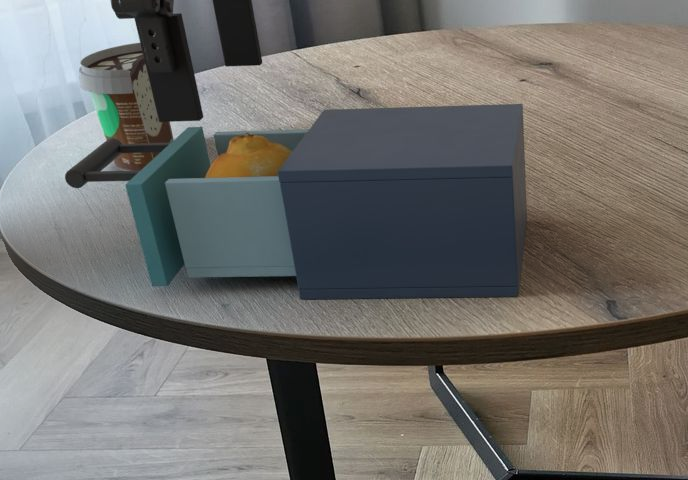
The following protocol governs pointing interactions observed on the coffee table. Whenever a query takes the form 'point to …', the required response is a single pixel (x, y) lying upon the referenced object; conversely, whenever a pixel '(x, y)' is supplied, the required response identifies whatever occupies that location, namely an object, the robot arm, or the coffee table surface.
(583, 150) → the coffee table surface
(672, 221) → the coffee table surface
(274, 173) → the fruit
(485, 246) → the cabinet
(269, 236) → the drawer
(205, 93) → the coffee table surface
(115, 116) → the food container
